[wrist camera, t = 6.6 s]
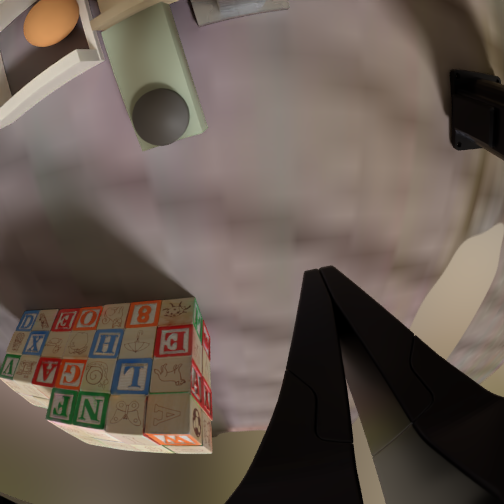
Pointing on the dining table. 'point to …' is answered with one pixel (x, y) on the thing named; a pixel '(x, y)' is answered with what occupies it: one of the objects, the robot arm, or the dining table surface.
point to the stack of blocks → (118, 373)
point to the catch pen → (75, 63)
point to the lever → (150, 70)
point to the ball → (50, 21)
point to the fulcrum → (233, 9)
